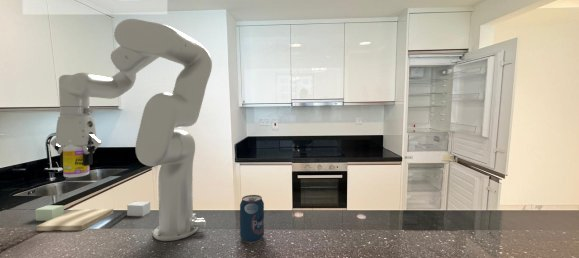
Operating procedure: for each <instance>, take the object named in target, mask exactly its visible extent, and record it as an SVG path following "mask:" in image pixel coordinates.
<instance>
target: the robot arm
mask: <svg viewBox="0 0 579 258" xmlns="http://www.w3.org/2000/svg"><path fill="white" fill-rule="evenodd" d="M113 36H114V40H115V42H116V43H117V45H119V46H118V47H117V48H115V49H114V50H112V52H111V53H110V59H111V62H112V64H113V65H114V66H115V68H116V69H117V70H118V72H117V73H116V74H114V75H113V76H110V77H109V76H106V75H105V76H104V75H99V74H93V73H88V72H77V73H74V74H62V75H60V76H59V78H58V92H59V93H58V94H59V98H58V100H59V116H58V117H57V118H58V119H57V121H56V129H55V138H53V139H52V140H51V141H50V142H49V144H50V145H51V146H52V147H53V148H54V150H55V151H56V152H57V154H58V155H59V161H60V162H59V165H60V167H63V148H64V147H65V146H68V145H70V144H72V145H74V146H81V147H82V149H83V151H84V153H85V154H83V165H84V166H88V165H89V166H90V165H93V160H94V157H93V155H94V153H95V151H96V150H98V148H99V147H100V146H101V144H102V141H101V140H100V139H98V137H97V130H96V125H95V121H94V118H93V116H90V115H91V114H92V113H93V109H91V108H90V98H97V99H98V98H100V99H109V100H110V99H115V98H119V97H121V96H122V95H124V94H126V93H127V92H128V91H129V90H131V89H132V88H133V86H134V84H135V82H136V79H137V73H139V72H140V71H142V70H143V69H144V68H146V67H147V66H148V65H150V64H152V63H153V62H155V61H156V60H157V59H159V58H162V59H166V60H168V61H171V62H174V63H177V64H180V65H182V66H183V69H182V70H181V71H180V72H179V74H178V75H177V77H176V79H175V83H174V88H173V90H172V93H170V92H159V93H156V94H154V95H153V96H151V97H150V98H149V99H148V100H147V102H146V104H145V106H144V108H143V112H142V116H141V119H140V124H139V127H138V128H139V129H138V133H137V137H136V140H135V141H136V142H135V155H136V158H137V159H138V161H139V162H140V163H141V164H143V165H145V166H148V167H156V166H157V167H158V166H159V167H160V168H159V171H158V177H157V178H158V185H157V186H158V191H157V192H158V226H157V227H156V228H155V229H153V232H152V234H153V238H154V239H155V240H157V241H162V242H168V241H169V242H171V241H172V242H173V241H177V240H181V239H185V238H188V237H190V236H192V235H193V234H195V233H196V232H197V231H198V230H199V228H206V225H207V220H205V217H201V218H200V217H199V218H198V217H197V213H194V211H193V208H194V207H193V202H194V201H193V200H194V199H193V198H194V197H193V167H194V158H195V153H196V141H195V139H194V137H193V136H192V134H190V133H189V132H187V131H186V130H182V129H175V128H188V127H191V126H193V125H194V124H196V123H197V121H198V119H199V117H200V113H201V108H202V105H203V101H204V99H205V98H204V96H205V93H206V89H207V85H208V82H209V79H210V76H211V73H212V68H213V60H212V56H211V54H210V53H209V51H208V50H207V49H206V47H204V46H203V45H202V44H201V43H200V42H198V41H197V40H195V39H194V38H192V37H190V36H188V35H187V34H185V33H183V32H181V31H179V30H177V29H176V28H174V27H172V26H169V25H167V24H164V23H158V22H152V21H148V20H142V19H136V18H127V19H124V20H121V21H120V22H119V23H117V25H116V26H115V29H114V35H113ZM69 140H71V141H72V142H68V141H69ZM87 147H88V148H87Z"/></svg>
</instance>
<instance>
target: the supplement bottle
mask: <svg viewBox="0 0 579 258" xmlns="http://www.w3.org/2000/svg"><path fill="white" fill-rule="evenodd" d="M68 142H72V141H71V140H69V141H68ZM87 148H88V147H87ZM83 154H85V153H84V151H83V149H82V147H81V146H74V145H72V144H70V145H68V146H65V147H64V148H63V166H62V168H63V172H62V173H63V177H64V178H79V177H84V176H87V175H89V174H90V165H88V166H84V165H83Z"/></svg>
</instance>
